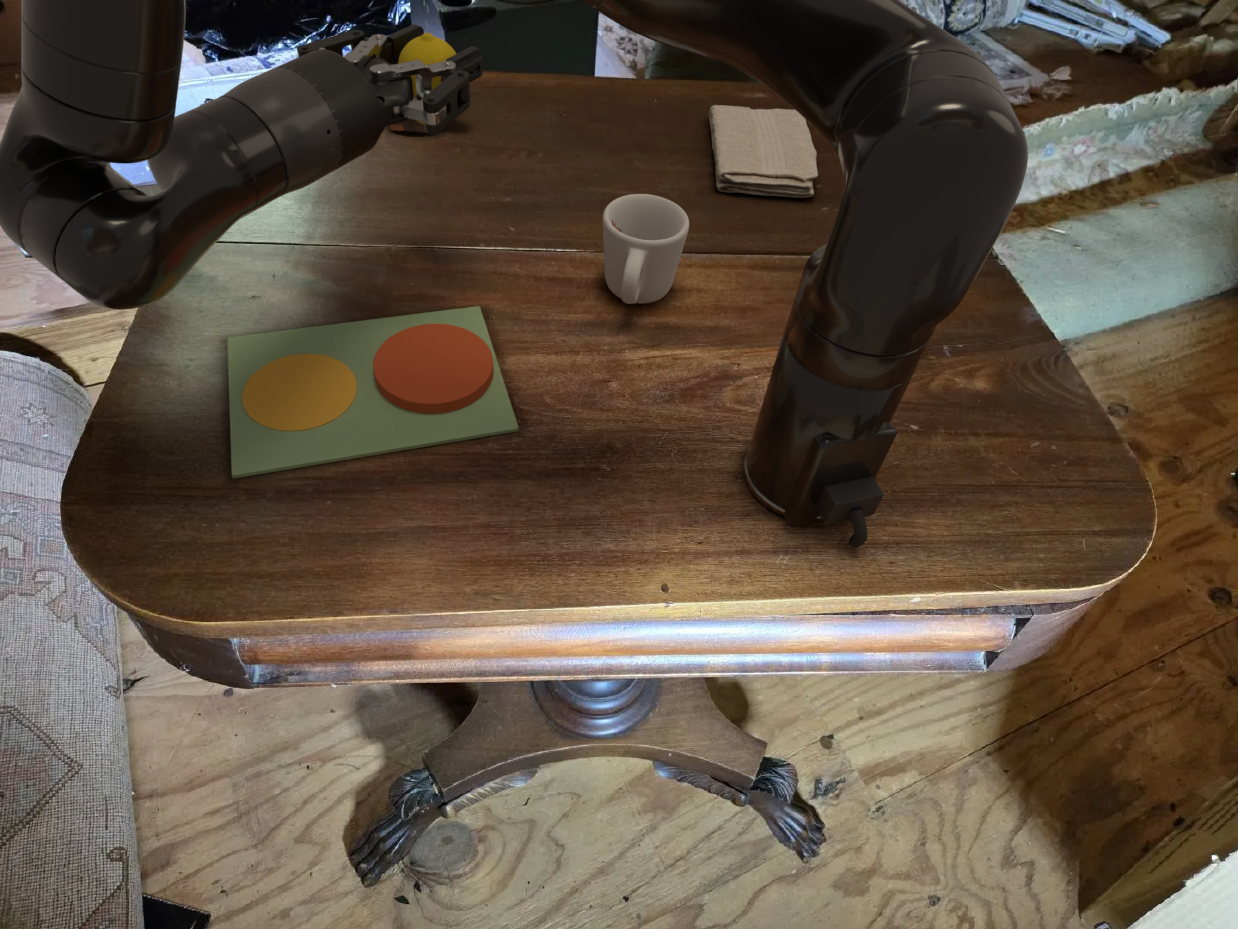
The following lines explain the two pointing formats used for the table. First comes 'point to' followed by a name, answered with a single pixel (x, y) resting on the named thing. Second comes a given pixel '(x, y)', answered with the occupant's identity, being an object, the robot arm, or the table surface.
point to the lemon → (426, 54)
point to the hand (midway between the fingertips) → (448, 48)
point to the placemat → (363, 390)
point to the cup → (642, 246)
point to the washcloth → (762, 151)
